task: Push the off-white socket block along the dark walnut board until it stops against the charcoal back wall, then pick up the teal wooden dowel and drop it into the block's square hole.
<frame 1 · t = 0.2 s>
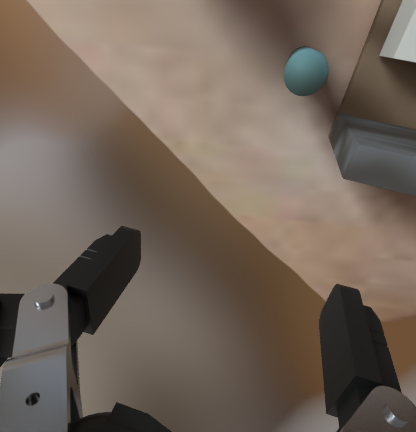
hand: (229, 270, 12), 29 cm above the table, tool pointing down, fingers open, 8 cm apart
dowel: (302, 63, 32), on the table
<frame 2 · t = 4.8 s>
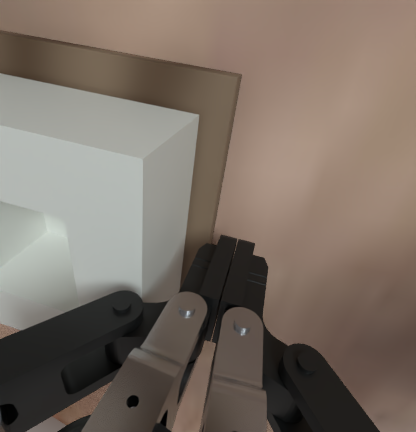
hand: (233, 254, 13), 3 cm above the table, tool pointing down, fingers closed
jig: (46, 168, 16), on the table
socket: (61, 220, 13), point 4 cm above the table, slide at 0.2 cm, touching gripper
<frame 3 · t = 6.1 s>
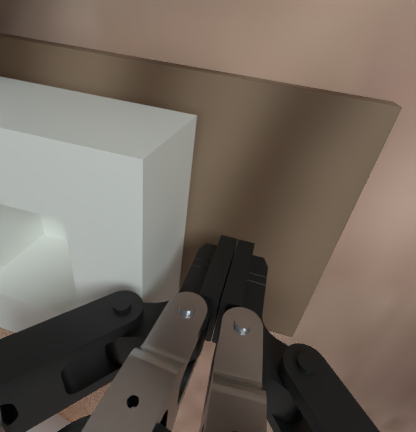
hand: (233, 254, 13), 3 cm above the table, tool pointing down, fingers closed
jig: (139, 194, 15), on the table
socket: (59, 222, 13), point 4 cm above the table, slide at 6.0 cm, touching gripper, jig
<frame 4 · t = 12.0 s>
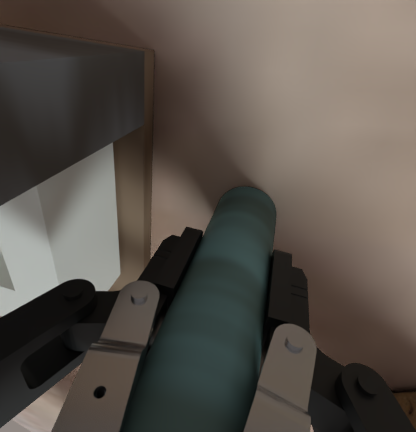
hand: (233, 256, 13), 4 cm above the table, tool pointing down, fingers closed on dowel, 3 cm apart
jig: (59, 207, 19), on the table
socket: (2, 210, 15), point 4 cm above the table, slide at 6.0 cm
dowel: (246, 213, 16), on the table, touching gripper
when the fingers open (11 cm above the table, at t = 16.9 s): dowel drops 5 cm, resting on socket.
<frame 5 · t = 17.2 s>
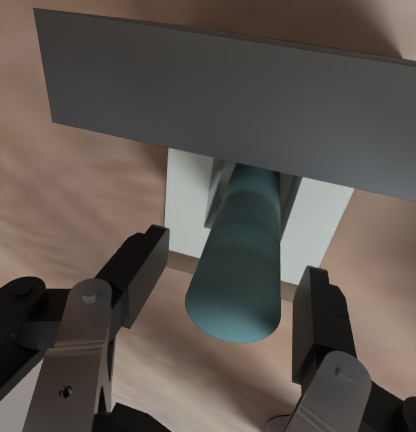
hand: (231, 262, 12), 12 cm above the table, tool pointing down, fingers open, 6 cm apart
jig: (254, 187, 23), on the table
socket: (253, 185, 19), point 4 cm above the table, slide at 6.0 cm, touching dowel
dowel: (255, 176, 20), point 2 cm above the table, touching socket
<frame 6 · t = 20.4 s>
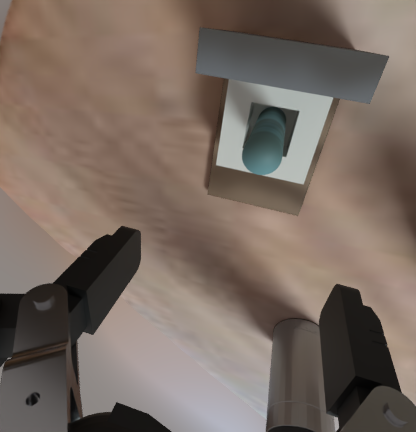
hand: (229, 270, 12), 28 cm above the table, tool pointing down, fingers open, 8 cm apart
jig: (269, 133, 36), on the table
socket: (271, 124, 32), point 4 cm above the table, slide at 6.0 cm, touching dowel
dowel: (271, 121, 33), point 2 cm above the table, touching socket
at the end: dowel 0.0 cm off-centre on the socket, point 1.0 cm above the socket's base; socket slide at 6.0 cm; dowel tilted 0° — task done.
